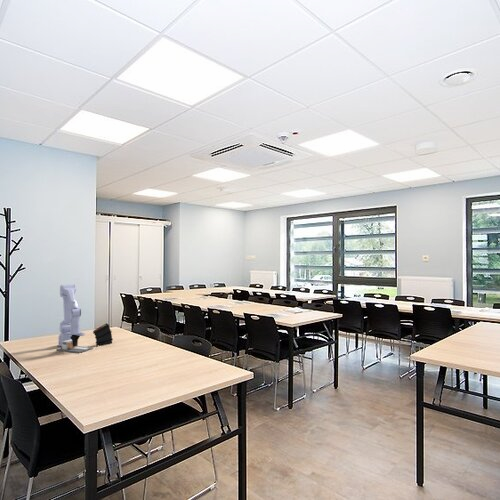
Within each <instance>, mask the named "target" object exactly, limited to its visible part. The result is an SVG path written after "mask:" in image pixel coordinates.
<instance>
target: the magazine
mask: <svg viewBox="0 0 500 500" xmlns="http://www.w3.org/2000/svg"><path fill="white" fill-rule="evenodd" d="M92 333H93V334H94V336H95V337H94V338H95V345H96V346H104V345H110V344H113V340H114V339H113V334H112V330H111V328H110V324H108V323H105V324H103V325H100V326H99V327H98V328H96V329H94V330H93V331H92Z"/></svg>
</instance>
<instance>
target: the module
mask: <svg viewBox="0 0 500 500" xmlns="http://www.w3.org/2000/svg"><path fill="white" fill-rule="evenodd" d="M69 342H72V340H67V341H63V342H62V349H68V343H69Z"/></svg>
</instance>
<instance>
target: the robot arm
mask: <svg viewBox="0 0 500 500" xmlns="http://www.w3.org/2000/svg"><path fill="white" fill-rule="evenodd" d="M76 292H77V286H76V284H61V285H60V286H59V295H60V297H61V298H62V300H63V301H62V302H63V304H62V305H63V320H62V321H61V322H60V323H59V332H60V334H59V335H58V343H57V346H58V347H61V345H62V342H63V341H67V340H72V341H73V346H77V341H78V342H79V339H80V336H81V337H83V336H84V337H85V332H81V331H80V330H81V328H80V327H81V323H80V322H81V315H82V308H80V307H79V305H78V301H77V300H76V299H75V294H76Z"/></svg>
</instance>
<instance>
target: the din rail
mask: <svg viewBox="0 0 500 500" xmlns="http://www.w3.org/2000/svg"><path fill="white" fill-rule="evenodd" d="M91 350H94V347H91V346H90V347H88V346H79V345H78V346H77V347H74V348H68V349H62V345H61V346H60V348H57V349H56V351H57V352H65V353H75V354H81V353H85V352H88V351H91Z"/></svg>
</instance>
